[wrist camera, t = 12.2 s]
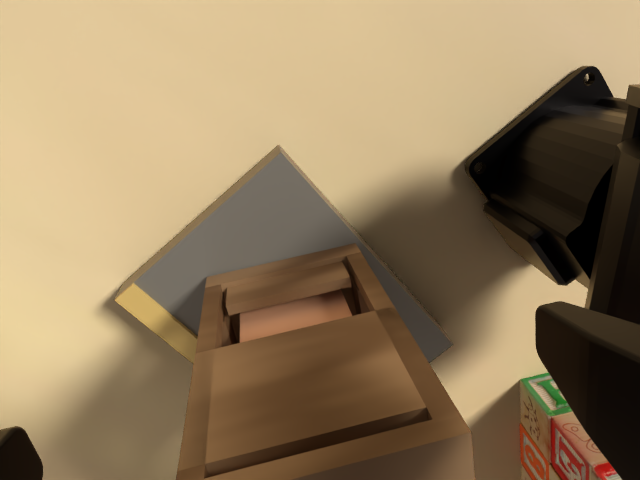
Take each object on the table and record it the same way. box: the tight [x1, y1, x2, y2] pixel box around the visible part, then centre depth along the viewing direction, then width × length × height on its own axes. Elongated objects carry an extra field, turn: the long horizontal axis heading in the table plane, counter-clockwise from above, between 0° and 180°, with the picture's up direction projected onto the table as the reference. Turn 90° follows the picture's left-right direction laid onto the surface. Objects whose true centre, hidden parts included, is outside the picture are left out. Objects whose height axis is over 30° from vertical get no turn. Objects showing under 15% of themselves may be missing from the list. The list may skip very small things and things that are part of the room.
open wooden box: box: [176, 243, 475, 480], centre depth 16 cm, size 6×6×11 cm
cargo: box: [240, 289, 352, 343], centre depth 18 cm, size 4×4×4 cm
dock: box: [114, 145, 453, 364], centre depth 22 cm, size 9×12×2 cm
